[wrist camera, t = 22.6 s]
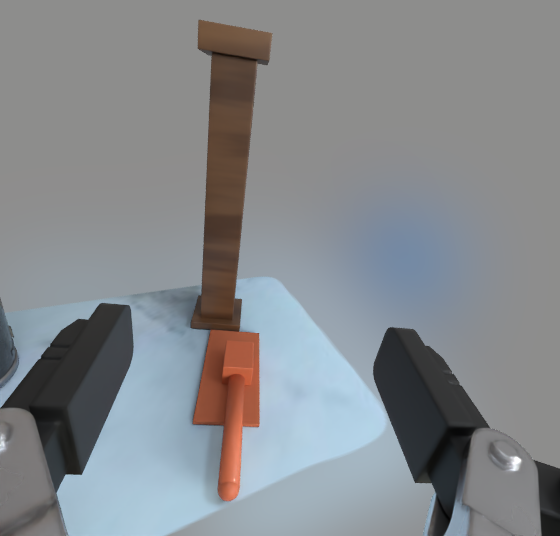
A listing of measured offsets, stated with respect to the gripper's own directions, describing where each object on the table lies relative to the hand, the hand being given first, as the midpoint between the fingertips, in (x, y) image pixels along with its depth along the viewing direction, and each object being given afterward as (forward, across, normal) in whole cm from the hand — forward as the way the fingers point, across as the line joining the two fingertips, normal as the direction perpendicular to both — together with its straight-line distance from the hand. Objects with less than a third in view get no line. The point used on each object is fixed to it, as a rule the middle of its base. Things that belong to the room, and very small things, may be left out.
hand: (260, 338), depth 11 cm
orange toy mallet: (+13, 0, +20) cm, 24 cm away
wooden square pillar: (+28, +3, +21) cm, 35 cm away
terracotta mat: (+18, 0, +21) cm, 28 cm away
